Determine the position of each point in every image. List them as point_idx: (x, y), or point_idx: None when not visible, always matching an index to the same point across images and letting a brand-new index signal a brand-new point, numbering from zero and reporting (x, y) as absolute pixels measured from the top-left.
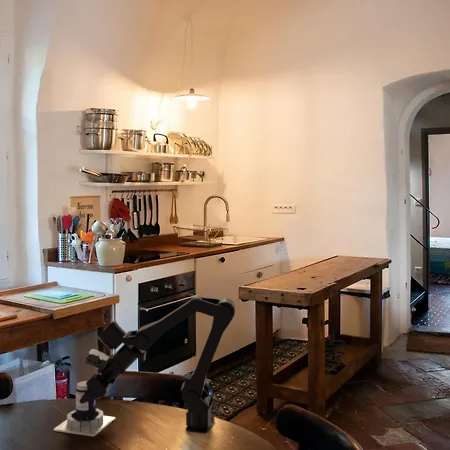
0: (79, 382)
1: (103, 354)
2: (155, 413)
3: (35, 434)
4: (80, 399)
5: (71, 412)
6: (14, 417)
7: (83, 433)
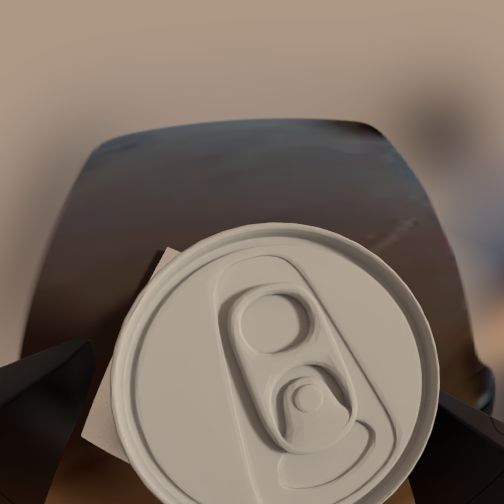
0: (359, 255)
1: None
2: None
3: (149, 195)
4: (60, 345)
5: None
6: (300, 134)
7: (100, 388)
